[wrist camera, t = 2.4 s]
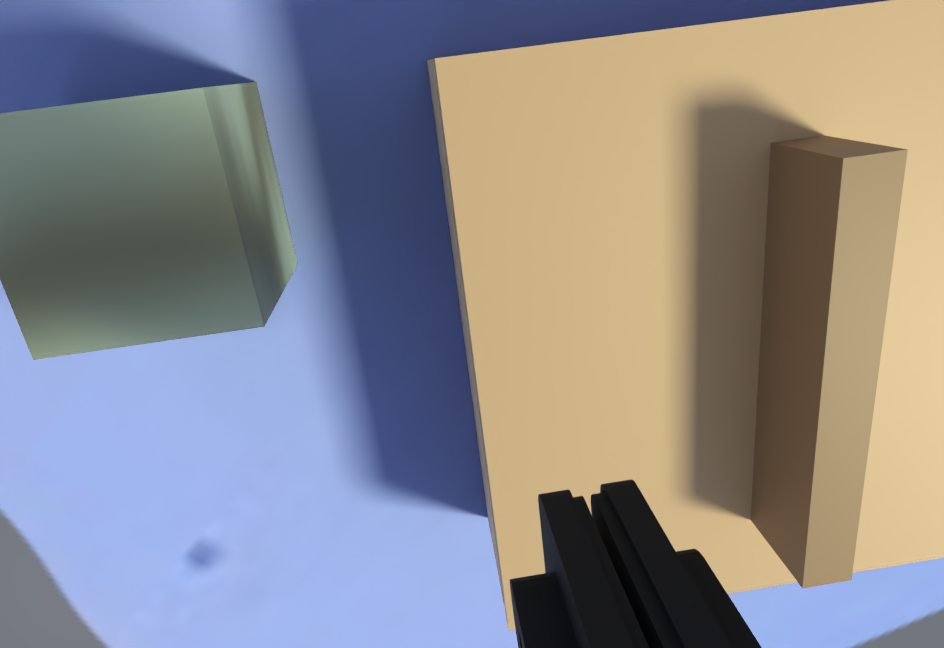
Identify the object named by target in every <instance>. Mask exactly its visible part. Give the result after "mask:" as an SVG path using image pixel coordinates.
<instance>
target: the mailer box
mask: <svg viewBox="0 0 944 648" xmlns="http://www.w3.org/2000/svg"><path fill="white" fill-rule="evenodd" d="M427 66H428V73H429V80H430V88H431V95H432V103H433V110H434V118H435V125H436V133H437V140H438V148H439V155H440V163H441V170H442V178H443V185H444V193H445V200H446V208H447V215H448V222H449V230H450V237H451V245H452V252H453V260H454V267H455V275H456V282H457V290H458V297H459V305H460V312H461V320H462V327H463V335H464V342H465V350H466V357H467V365H468V372H469V379H470V387H471V394H472V402H473V409H474V417H475V424H476V432H477V439H478V447H479V454H480V462H481V469H482V477H483V484H484V492H485V499H486V507H487V514H488V521H489V526H490V532H491V537H492V542H493V548H494V553H495V559H496V564H497V569H498V575H499V580H500V586H501V591H502V596H503V589H502V581H501V574H500V566H499V558H498V551H497V543H496V535H495V528H494V520H493V512H492V505H491V497H490V489H489V481H488V474H487V466H486V458H485V451H484V443H483V435H482V428H481V420H480V412H479V405H478V397H477V389H476V381H475V374H474V366H473V358H472V351H471V343H470V335H469V328H468V320H467V312H466V305H465V297H464V289H463V282H462V274H461V266H460V258H459V251H458V243H457V235H456V228H455V220H454V212H453V205H452V197H451V189H450V182H449V174H448V166H447V159H446V151H445V143H444V135H443V128H442V120H441V112H440V105H439V97H438V89H437V82H436V74H435V66H434V59H430V60H427ZM503 602H504V597H503ZM504 606H505V604H504Z"/></svg>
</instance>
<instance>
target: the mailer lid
mask: <svg viewBox="0 0 944 648" xmlns="http://www.w3.org/2000/svg"><path fill="white" fill-rule="evenodd" d="M434 66H435V74H436V82H437V89H438V97H439V105H440V112H441V120H442V128H443V135H444V143H445V151H446V159H447V166H448V174H449V182H450V189H451V197H452V205H453V212H454V220H455V228H456V235H457V243H458V251H459V258H460V266H461V274H462V282H463V289H464V297H465V305H466V312H467V320H468V328H469V335H470V343H471V351H472V358H473V366H474V374H475V381H476V389H477V397H478V405H479V412H480V420H481V428H482V435H483V443H484V451H485V458H486V466H487V474H488V481H489V489H490V497H491V505H492V512H493V520H494V528H495V535H496V543H497V551H498V558H499V566H500V574H501V581H502V589H503V597H504V604H505V612H506V618H507V624H508V629H509V630H515V629H516V628H515V621H514V614H513V606H512V599H511V590H510V579H514V578H520V577H526V576H532V575H538V574H544V573H545V563H544V553H543V543H542V533H541V524H540V514H539V504H538V495H539V494H543V493H549V492H556V491H562V490H568V489H569V490H570V492H571V494H572V496H573V497H578V496H583V497H584V499H585V501H586V504H587V506H588V508H589V510H590V513H591V495H592V494H597V493H600V487H601V485H602V484H606V483H612V482H618V481H624V480H631V479H632V480H634V481H635V483H636V484H637V486H638V488H639V489H640V491H641V493H642V495H643V496H644V498H645V500H646V501H647V503H648V505H649V507H650V508H651V510H652V512H653V513H654V515H655V517H656V519H657V520H658V522H659V524H660V525H661V527H662V529H663V531H664V532H665V534H666V536H667V537H668V539H669V541H670V543H671V544H672V546H673V548H674V549H675V551H676V552H677V551H683V550H689V549H696V550H698V551H699V552H700V553H701V554H702V556H703V557H704V558H705V560H706V561H707V563H708V564H709V566H710V568H711V569H712V571H713V572H714V574H715V575H716V577H717V579H718V580H719V582H720V583H721V585H722V586H723V588H724V590H725V591H726V593H727V594H729V593H735V592H741V591H747V590H753V589H759V588H765V587H771V586H777V585H783V584H789V583H795V582H798V583H799V584H800V586H801V587H802V588H807V587H813V586H818V585H824V584H830V583H836V582H842V581H848V580H852V573H854V572H860V571H866V570H872V569H878V568H884V567H890V566H896V565H902V564H908V563H914V562H920V561H926V560H931V559H937V558H943V557H944V0H889V1H881V2H873V3H865V4H858V5H850V6H842V7H834V8H826V9H818V10H810V11H803V12H795V13H787V14H779V15H771V16H763V17H756V18H748V19H740V20H732V21H724V22H716V23H708V24H701V25H693V26H685V27H677V28H669V29H661V30H653V31H646V32H638V33H630V34H622V35H614V36H606V37H599V38H591V39H583V40H575V41H567V42H559V43H551V44H544V45H536V46H528V47H520V48H512V49H504V50H496V51H489V52H481V53H473V54H465V55H457V56H449V57H441V58H434ZM591 515H592V513H591Z"/></svg>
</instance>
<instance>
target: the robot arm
mask: <svg viewBox="0 0 944 648" xmlns="http://www.w3.org/2000/svg"><path fill="white" fill-rule="evenodd" d="M538 504H539V514H540V524H541V533H542V543H543V553H544V563H545V573H544V574H538V575H532V576H526V577H520V578H514V579H510V590H511V599H512V606H513V614H514V621H515V628H516V634H517V641H518V647H519V648H761V646H760V645H759V643H758V641H757V640H756V638H755V637H754V635H753V634H752V632H751V630H750V629H749V627H748V626H747V624H746V623H745V621H744V619H743V618H742V616H741V615H740V613H739V612H738V610H737V608H736V607H735V605H734V604H733V602H732V601H731V599H730V597H729V596H728V594H727V593H726V591H725V590H724V588H723V586H722V585H721V583H720V582H719V580H718V579H717V577H716V575H715V574H714V572H713V571H712V569H711V568H710V566H709V564H708V563H707V561H706V560H705V558H704V557H703V556H702V554H701V553H700V552H699V551H698V550H696V549H689V550H683V551H677V552H676V551H675V549H674V548H673V546H672V544H671V543H670V541H669V539H668V537H667V536H666V534H665V532H664V531H663V529H662V527H661V525H660V524H659V522H658V520H657V519H656V517H655V515H654V513H653V512H652V510H651V508H650V507H649V505H648V503H647V501H646V500H645V498H644V496H643V495H642V493H641V491H640V489H639V488H638V486H637V484H636V483H635V481H634V480H632V479H631V480H624V481H618V482H612V483H606V484H602V485H601V487H600V493H597V494H592V495H591V513H592V515H591V513H590V510H589V508H588V506H587V504H586V501H585V499H584V497H583V496H578V497H573V496H572V494H571V492H570V490H569V489H568V490H562V491H556V492H549V493H543V494H539V495H538Z"/></svg>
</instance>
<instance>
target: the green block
mask: <svg viewBox="0 0 944 648" xmlns="http://www.w3.org/2000/svg"><path fill="white" fill-rule="evenodd" d="M297 265H298V263H297V259H296V254H295V250H294V245H293V241H292V237H291V232H290V228H289V224H288V219H287V215H286V210H285V206H284V202H283V197H282V193H281V188H280V184H279V180H278V175H277V171H276V166H275V162H274V158H273V153H272V149H271V145H270V140H269V136H268V131H267V127H266V123H265V118H264V114H263V109H262V105H261V101H260V96H259V92H258V88H257V83H256V82H250V83H240V84H231V85H221V86H212V87H202V88H195V89H187V90H179V91H171V92H163V93H155V94H147V95H140V96H132V97H124V98H116V99H108V100H100V101H92V102H85V103H77V104H69V105H61V106H53V107H45V108H37V109H30V110H22V111H14V112H6V113H0V280H1V282H2V285H3V287H4V289H5V292H6V294H7V297H8V299H9V302H10V304H11V307H12V309H13V311H14V314H15V316H16V319H17V321H18V324H19V326H20V328H21V331H22V333H23V336H24V338H25V341H26V343H27V346H28V348H29V350H30V353H31V355H32V358H33V360H35V359H42V358H49V357H56V356H63V355H70V354H77V353H84V352H91V351H98V350H105V349H112V348H119V347H125V346H132V345H139V344H146V343H153V342H160V341H167V340H174V339H181V338H188V337H195V336H202V335H209V334H216V333H222V332H229V331H236V330H243V329H250V328H257V327H264V326H265V324H266V322H267V320H268V318H269V316H270V315H271V313H272V311H273V309H274V307H275V305H276V303H277V302H278V300H279V298H280V296H281V294H282V292H283V291H284V289H285V287H286V285H287V283H288V281H289V279H290V278H291V276H292V274H293V272H294V270H295V268H296V266H297Z"/></svg>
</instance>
